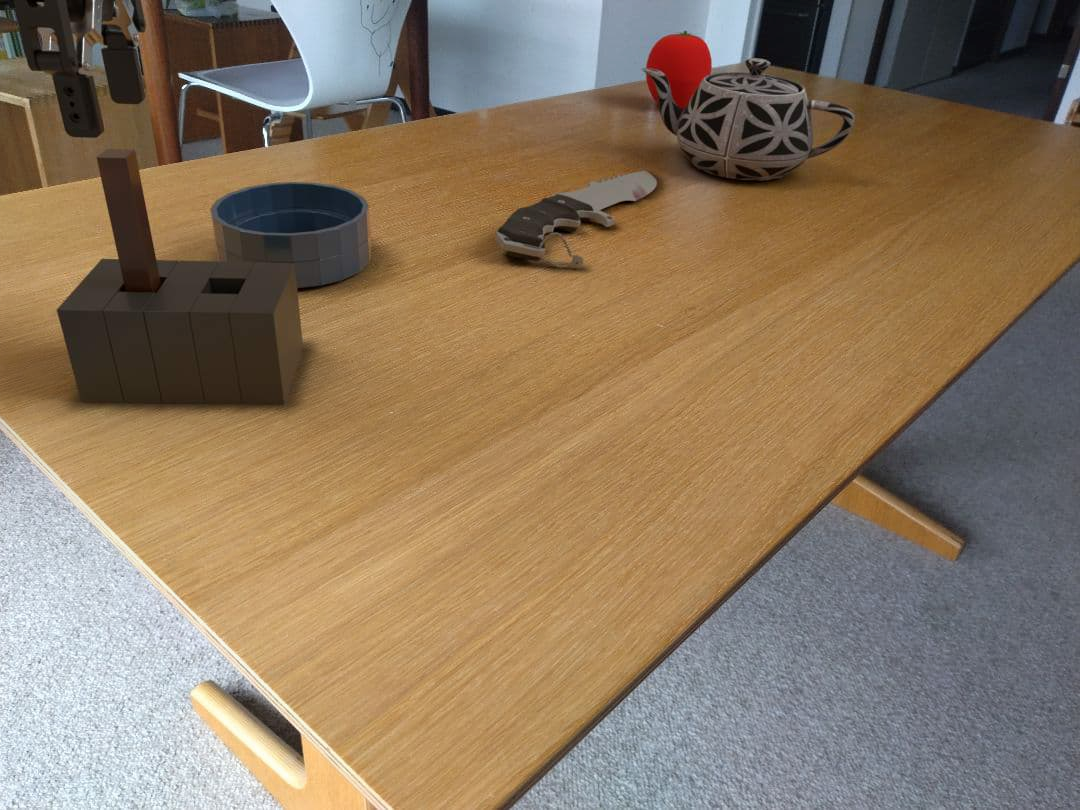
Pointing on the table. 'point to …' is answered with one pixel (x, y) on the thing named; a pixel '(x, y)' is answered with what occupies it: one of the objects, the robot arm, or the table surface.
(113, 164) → the stick
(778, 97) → the teapot
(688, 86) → the tomato
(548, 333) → the table surface
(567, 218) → the knife
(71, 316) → the holder
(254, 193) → the bowl
